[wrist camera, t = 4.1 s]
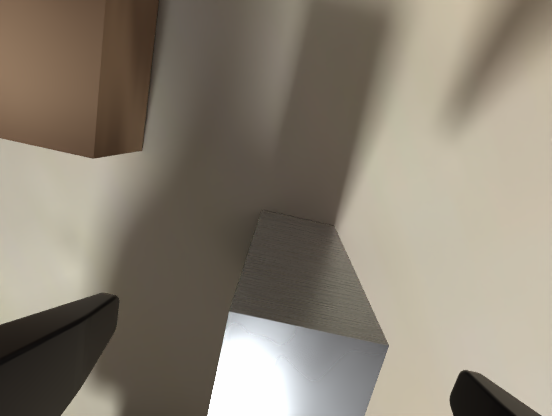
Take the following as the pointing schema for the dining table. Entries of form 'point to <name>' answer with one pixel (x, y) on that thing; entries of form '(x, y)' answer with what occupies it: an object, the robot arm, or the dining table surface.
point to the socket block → (76, 73)
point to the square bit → (298, 328)
